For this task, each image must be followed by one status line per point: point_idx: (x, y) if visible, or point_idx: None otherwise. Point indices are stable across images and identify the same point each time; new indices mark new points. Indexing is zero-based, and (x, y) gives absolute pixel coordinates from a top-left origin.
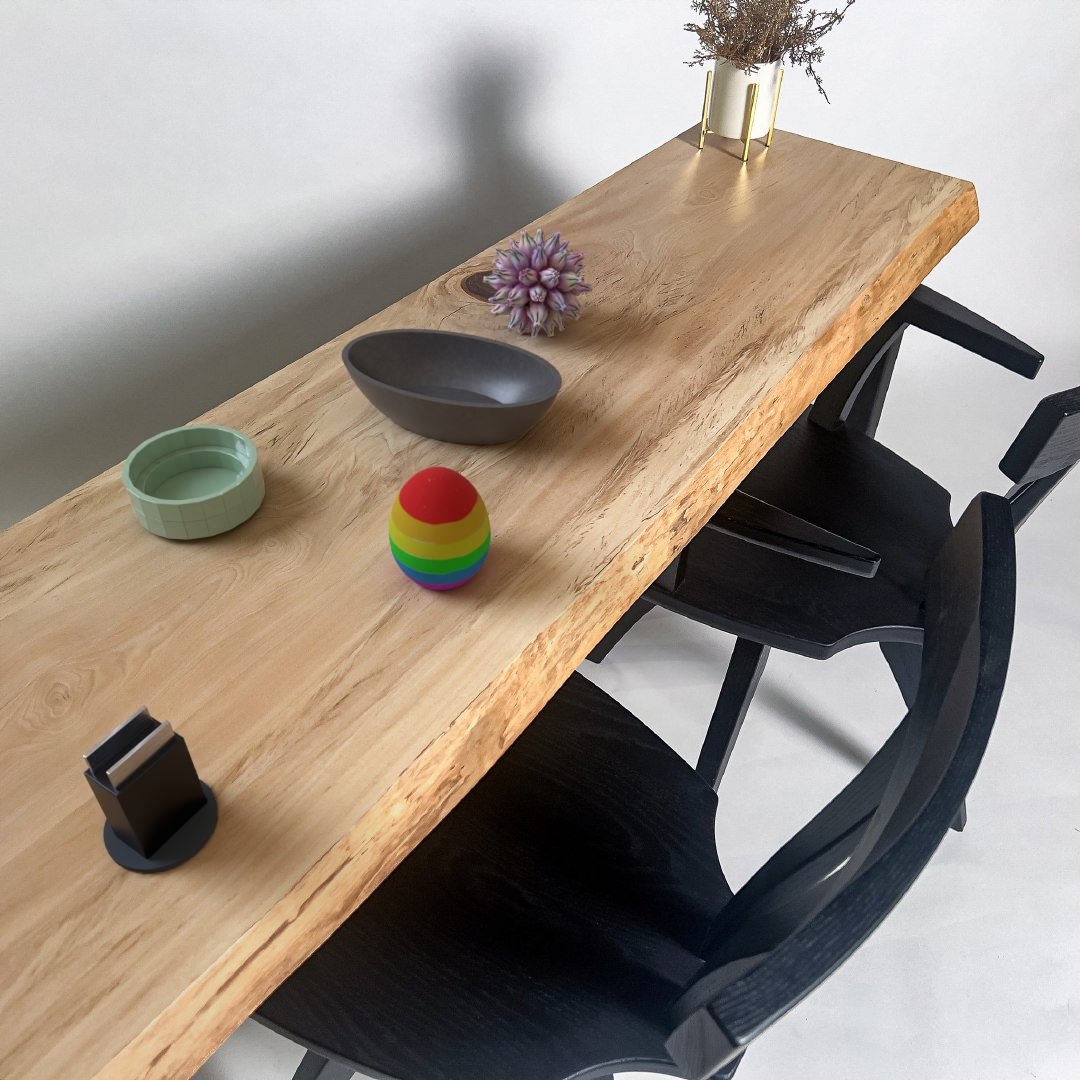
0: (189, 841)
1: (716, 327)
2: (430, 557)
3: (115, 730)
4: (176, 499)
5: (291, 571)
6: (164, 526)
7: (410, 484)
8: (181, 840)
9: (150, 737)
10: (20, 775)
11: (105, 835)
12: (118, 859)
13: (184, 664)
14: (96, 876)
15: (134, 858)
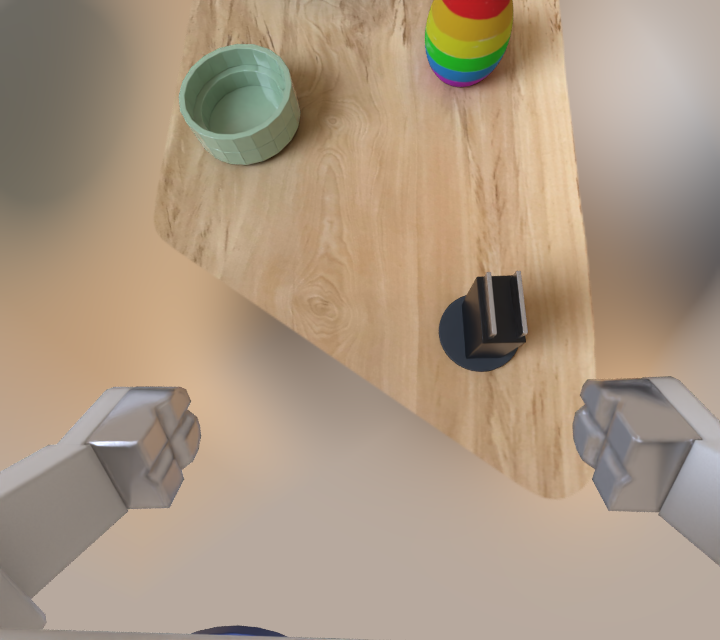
0: None
1: None
2: (492, 51)
3: (491, 302)
4: (233, 131)
5: (368, 131)
6: (259, 152)
7: None
8: None
9: (522, 290)
10: (358, 365)
11: (458, 362)
12: (483, 369)
13: (374, 234)
14: (476, 386)
15: (492, 362)
